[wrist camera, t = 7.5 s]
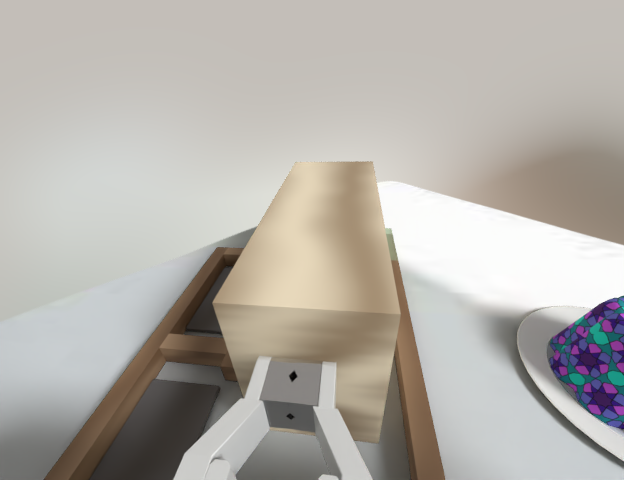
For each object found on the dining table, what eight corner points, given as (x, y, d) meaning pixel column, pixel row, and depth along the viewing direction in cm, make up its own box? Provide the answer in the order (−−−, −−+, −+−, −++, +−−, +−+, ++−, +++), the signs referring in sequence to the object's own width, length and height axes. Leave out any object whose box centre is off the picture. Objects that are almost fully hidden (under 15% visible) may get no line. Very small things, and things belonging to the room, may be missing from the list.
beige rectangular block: (253, 429, 16) (212, 302, 11) (302, 251, 31) (295, 162, 26) (378, 444, 15) (400, 314, 10) (366, 253, 30) (372, 161, 25)
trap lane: (-183, 845, 8) (-244, 863, 7) (236, 235, 34) (234, 224, 34) (570, 1168, 5) (613, 1259, 4) (389, 239, 32) (391, 228, 31)
